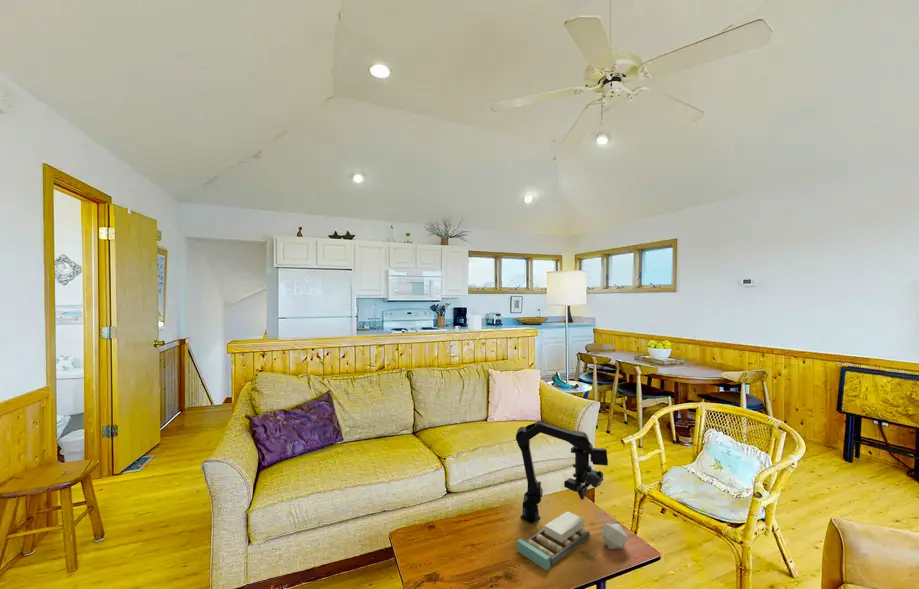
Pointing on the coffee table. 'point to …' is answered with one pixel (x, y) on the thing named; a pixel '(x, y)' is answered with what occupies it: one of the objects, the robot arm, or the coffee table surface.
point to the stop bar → (533, 554)
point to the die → (614, 536)
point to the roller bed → (555, 547)
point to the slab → (564, 526)
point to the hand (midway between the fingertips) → (582, 499)
